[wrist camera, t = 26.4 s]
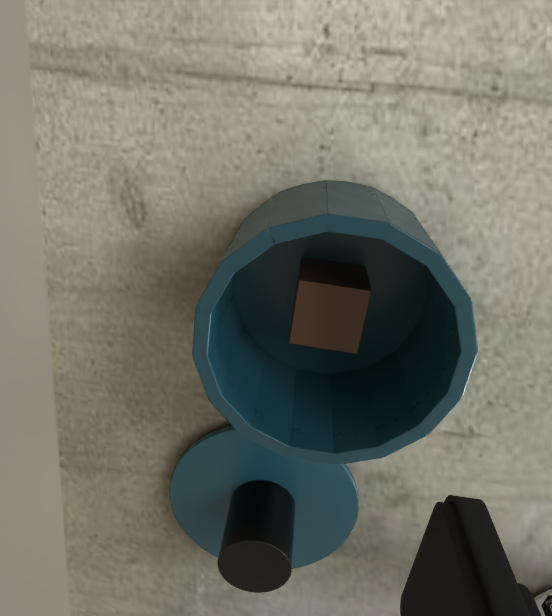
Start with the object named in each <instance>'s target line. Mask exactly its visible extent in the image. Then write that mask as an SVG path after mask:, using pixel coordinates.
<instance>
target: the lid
mask: <svg viewBox="0 0 552 616" xmlns="http://www.w3.org/2000/svg"><path fill="white" fill-rule="evenodd" d="M170 500H171V505H172V509H173V511H174V514H175V517H176V519H177V520H178V522H179V524H180V526H181V527H182V528H183V530H184V531H185V532H186V534H187V535H188V536H189V537H190V538H191V539H192V540H193V541H194V542H195V543H197V544H198V545H199V546H200V547H201V548H203V549H204V550H206V551H207V552H209V553H210V554H212V555H214V556H216V557H218V569H219V572H220V573H221V575H222V577H223V578H224V579H225V580H226V581H227V582H228V583H230V584H231V585H233V586H234V587H236V588H239V589H241V590H244V591H249V592H258V593H261V592H269V591H273V590H275V589H278V588H280V587H281V586H283V585H284V584H285V583H286V582H287V581H288V579H289V577H290V575H291V569H293V568H299V567H302V566H306V565H309V564H312V563H314V562H317V561H319V560H321V559H323V558H325V557H327V556H328V555H330V554H331V553H333V552H334V551H335V550H337V549H338V548H339V547H340V546H341V545H342V544H343V543H344V542H345V540H346V539H347V538H348V537H349V535H350V533H351V531H352V530H353V528H354V525H355V522H356V520H357V515H358V493H357V488H356V484H355V481H354V479H353V476H352V474H351V472H350V471H349V469H348V467H347V466H346V465H345V464H339V465H330V464H323V463H317V462H311V461H305V460H298V459H292V458H286V457H283V456H281V455H279V454H277V453H275V452H273V451H271V450H269V449H267V448H265V447H263V446H261V445H260V444H258V443H256V442H254V441H252V440H250V439H248V438H246V437H244V436H242V435H241V434H240V433H239V432H238V431H237V430H236V429H235V428H234V427H233V426H228V427H224V428H221V429H219V430H216V431H213V432H211V433H209V434H207V435H205V436H204V437H202V438H201V439H199V440H198V441H196V442H195V443H194V444H193V445H191V446H190V447H189V448H188V449H187V450H186V451H185V453H184V454H183V455H182V457H181V458H180V460H179V462H178V463H177V465H176V467H175V470H174V473H173V476H172V479H171V485H170Z"/></svg>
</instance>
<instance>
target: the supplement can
mask: <svg viewBox="0 0 552 616" xmlns="http://www.w3.org/2000/svg"><path fill="white" fill-rule="evenodd" d="M534 600H535V601H536V604H537V606H538V609H539V611H540V613H541V616H552V589H549V590H547V591H545V592H543V593H541V594H539V595H537V596H536V597H535V598H534Z"/></svg>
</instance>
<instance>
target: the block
mask: <svg viewBox="0 0 552 616" xmlns="http://www.w3.org/2000/svg"><path fill="white" fill-rule="evenodd" d="M371 292H372V290H371V286H370V282H369V278H368V274H367V270H366V266H361V265H354V264H348V263H341V262H334V261H328V260H321V259H314V258H308V257H301V263H300V269H299V275H298V282H297V288H296V294H295V300H294V307H293V313H292V321H291V329H290V337H289V343H290V344H296V345H303V346H309V347H315V348H322V349H328V350H335V351H341V352H348V353H354V354H357V353H358V349H359V345H360V340H361V336H362V332H363V327H364V323H365V318H366V314H367V310H368V305H369V301H370V297H371Z"/></svg>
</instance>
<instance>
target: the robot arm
mask: <svg viewBox="0 0 552 616" xmlns="http://www.w3.org/2000/svg"><path fill="white" fill-rule="evenodd" d="M400 613H401V616H541V613H540V611H539V609H538V606H537V604H536V601H535V600H534V598H533V596H532V594H531V592H530V591H529V590H528V589H527V588H526V587H525V586H524V585H522V584H520V583H517V581H516V579H515V576H514V574H513V571H512V569H511V566H510V564H509V561H508V559H507V556H506V554H505V551H504V549H503V547H502V544H501V542H500V539H499V537H498V534H497V532H496V529H495V527H494V524H493V522H492V519H491V517H490V514H489V512H488V510H487V507H486V505H485V503H484V502H483V501H482V500H480V499H473V498H466V497H459V496H452V495H449V496H448V497H447V498H446V500H445V502H444V503H443V502H437V503H436V505H435V507H434V509H433V512H432V515H431V517H430V520H429V523H428V525H427V528H426V531H425V533H424V536H423V539H422V542H421V544H420V547H419V550H418V552H417V555H416V558H415V560H414V563H413V566H412V569H411V571H410V574H409V577H408V579H407V582H406V585H405V587H404V590H403V593H402V596H401V604H400Z"/></svg>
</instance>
